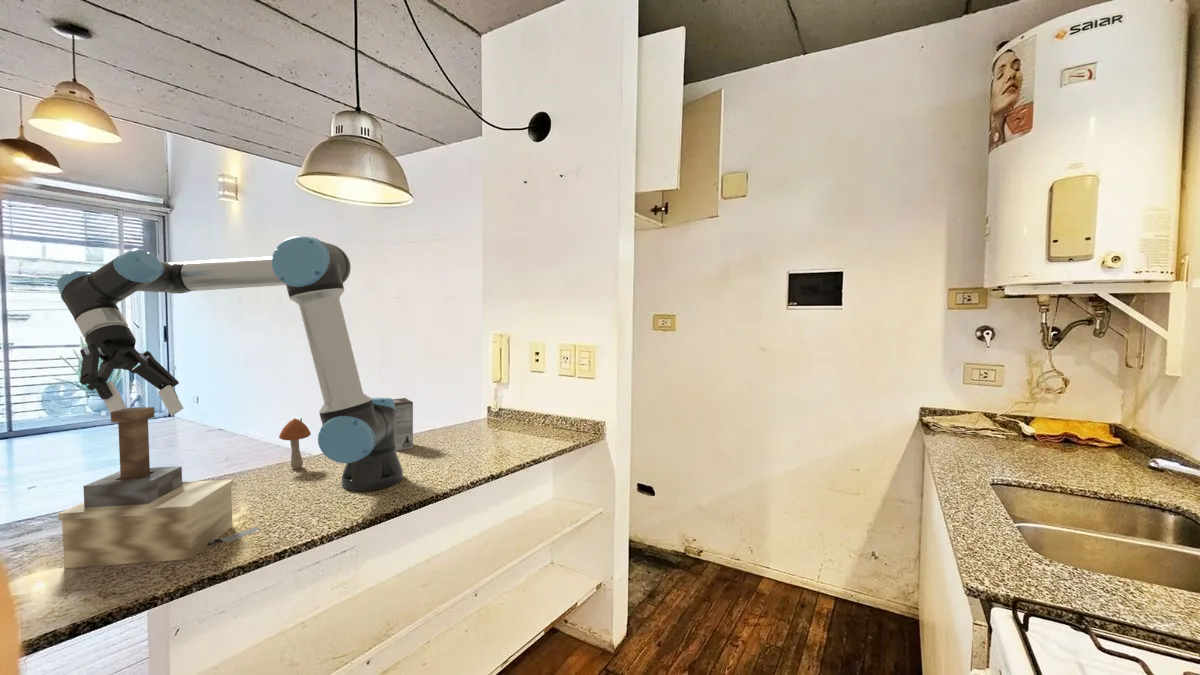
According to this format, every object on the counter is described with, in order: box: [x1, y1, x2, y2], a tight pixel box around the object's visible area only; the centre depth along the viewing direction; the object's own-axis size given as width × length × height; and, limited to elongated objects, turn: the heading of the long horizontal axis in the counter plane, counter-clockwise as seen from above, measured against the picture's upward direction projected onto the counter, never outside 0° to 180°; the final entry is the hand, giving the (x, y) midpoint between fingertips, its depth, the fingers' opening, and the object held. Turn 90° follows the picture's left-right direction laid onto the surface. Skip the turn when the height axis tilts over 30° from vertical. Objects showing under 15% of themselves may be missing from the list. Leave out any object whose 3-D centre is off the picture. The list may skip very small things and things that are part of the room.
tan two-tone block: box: [57, 466, 234, 569], centre depth 96 cm, size 21×15×14 cm
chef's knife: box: [207, 525, 266, 547], centre depth 101 cm, size 19×1×3 cm
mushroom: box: [278, 418, 312, 470], centre depth 144 cm, size 8×8×15 cm
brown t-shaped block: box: [110, 406, 155, 480], centre depth 95 cm, size 4×4×17 cm
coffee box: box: [392, 397, 414, 452], centre depth 168 cm, size 9×6×16 cm
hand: (150, 411), depth 106 cm, fingers open, 13 cm apart
